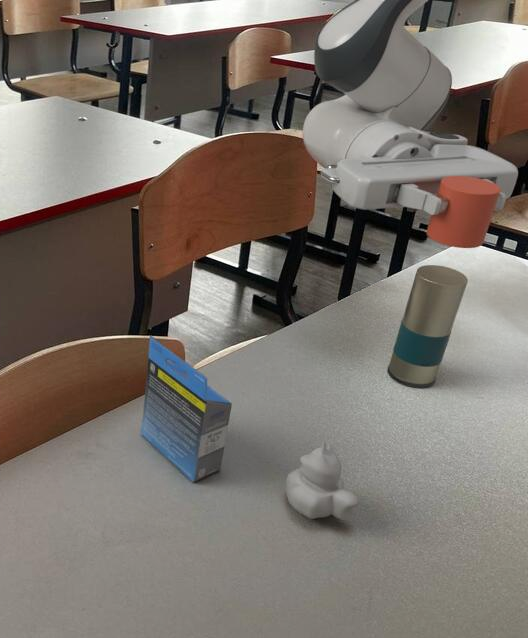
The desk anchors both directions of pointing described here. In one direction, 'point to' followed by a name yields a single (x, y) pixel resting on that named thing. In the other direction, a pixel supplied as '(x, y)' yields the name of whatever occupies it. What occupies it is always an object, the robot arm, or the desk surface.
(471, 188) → the cap
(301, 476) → the grey animal figurine
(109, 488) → the desk surface
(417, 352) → the spray can
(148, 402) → the tape cartridge
